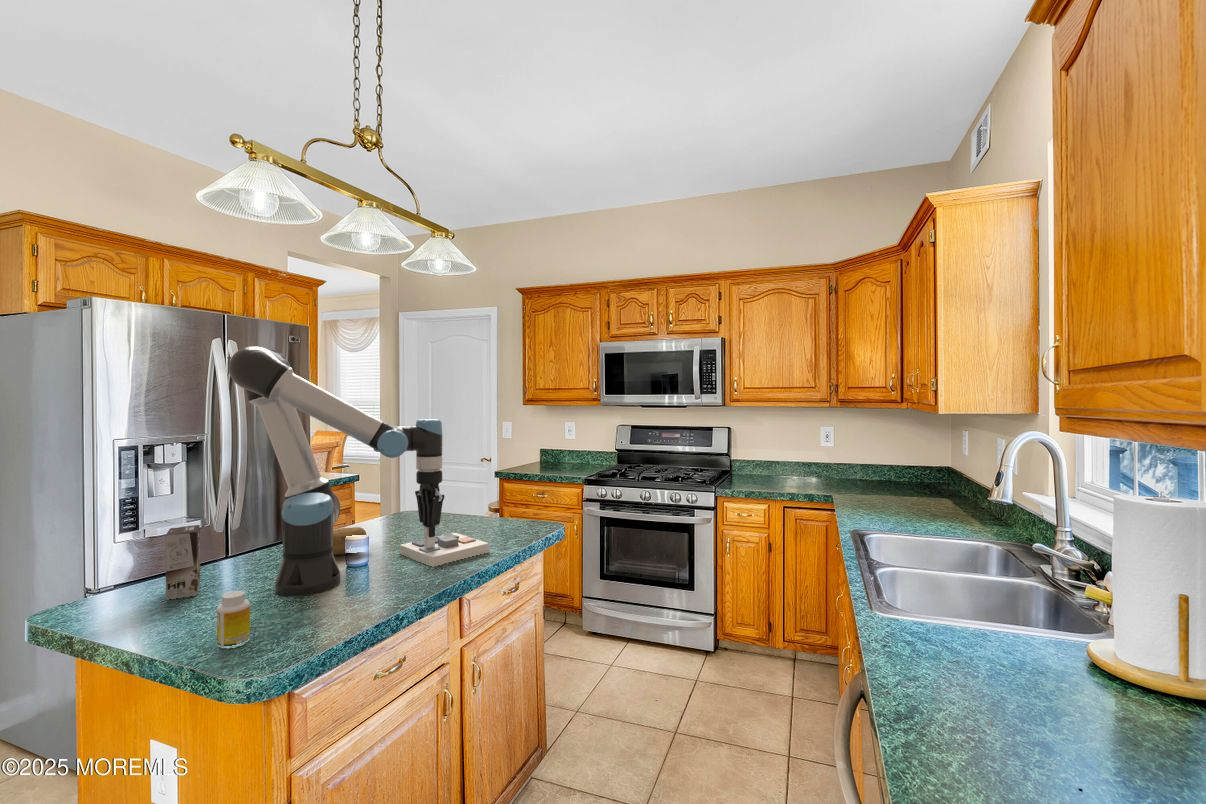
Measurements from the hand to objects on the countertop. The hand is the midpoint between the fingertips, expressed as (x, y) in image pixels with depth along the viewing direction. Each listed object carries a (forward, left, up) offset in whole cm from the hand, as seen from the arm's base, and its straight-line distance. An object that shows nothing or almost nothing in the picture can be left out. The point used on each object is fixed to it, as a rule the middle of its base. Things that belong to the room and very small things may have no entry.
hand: (429, 547), depth 167 cm
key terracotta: (+13, 0, -3) cm, 13 cm away
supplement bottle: (-57, -21, -4) cm, 60 cm away
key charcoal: (+6, 0, -2) cm, 7 cm away
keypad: (+6, +2, -4) cm, 8 cm away
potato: (-16, +25, -4) cm, 30 cm away
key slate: (0, 0, -3) cm, 3 cm away
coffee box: (-57, +21, -4) cm, 60 cm away
